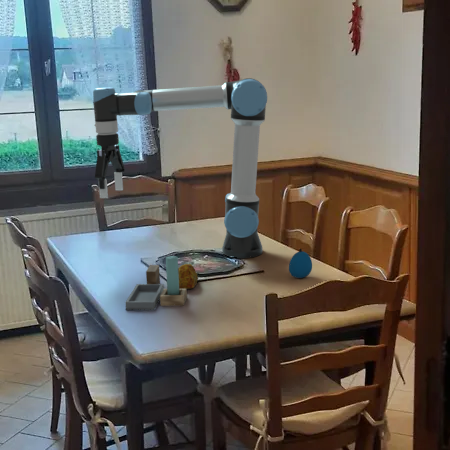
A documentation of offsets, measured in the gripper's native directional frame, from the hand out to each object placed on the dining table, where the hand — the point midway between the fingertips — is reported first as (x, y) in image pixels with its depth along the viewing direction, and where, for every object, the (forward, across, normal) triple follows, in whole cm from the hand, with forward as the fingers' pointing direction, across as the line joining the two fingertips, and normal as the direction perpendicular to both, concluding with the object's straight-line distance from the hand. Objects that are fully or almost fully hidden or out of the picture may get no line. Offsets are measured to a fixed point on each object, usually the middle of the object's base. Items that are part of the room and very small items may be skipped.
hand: (111, 194), depth 244 cm
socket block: (+27, +32, +32) cm, 53 cm away
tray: (+27, +33, +23) cm, 48 cm away
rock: (+27, +17, +31) cm, 45 cm away
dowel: (+27, +32, +32) cm, 53 cm away
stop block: (+27, +19, +21) cm, 39 cm away
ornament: (+27, +3, +67) cm, 72 cm away
